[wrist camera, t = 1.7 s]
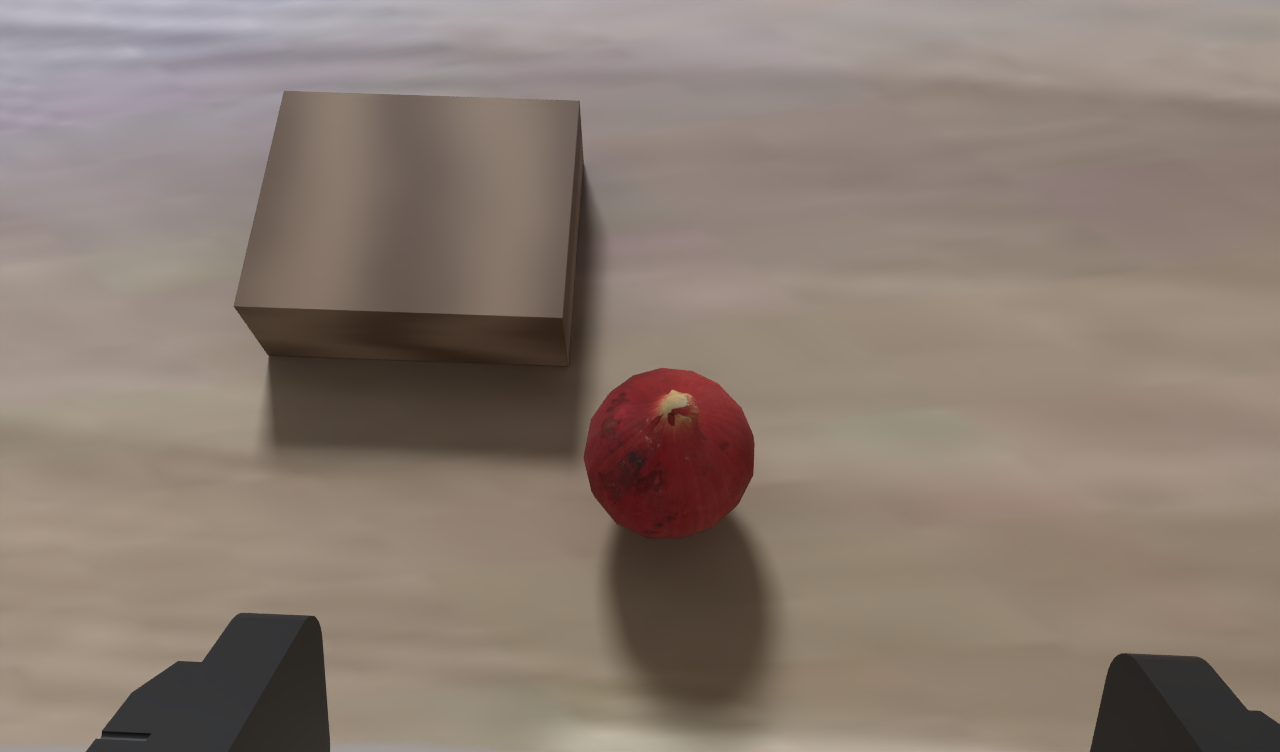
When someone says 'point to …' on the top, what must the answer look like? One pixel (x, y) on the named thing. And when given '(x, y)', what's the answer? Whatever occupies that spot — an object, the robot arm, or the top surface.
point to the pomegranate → (669, 453)
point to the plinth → (417, 229)
